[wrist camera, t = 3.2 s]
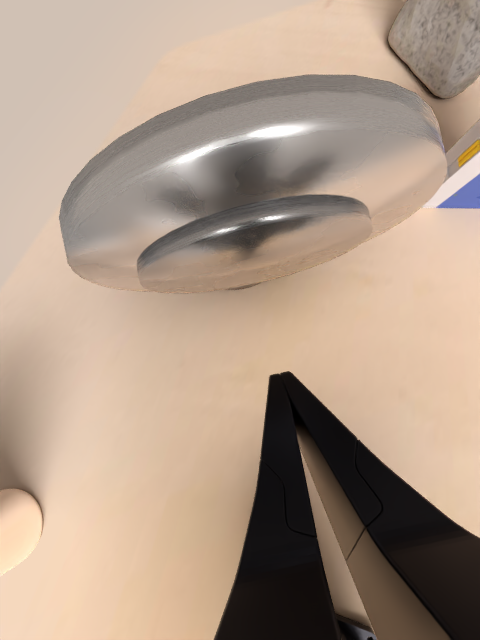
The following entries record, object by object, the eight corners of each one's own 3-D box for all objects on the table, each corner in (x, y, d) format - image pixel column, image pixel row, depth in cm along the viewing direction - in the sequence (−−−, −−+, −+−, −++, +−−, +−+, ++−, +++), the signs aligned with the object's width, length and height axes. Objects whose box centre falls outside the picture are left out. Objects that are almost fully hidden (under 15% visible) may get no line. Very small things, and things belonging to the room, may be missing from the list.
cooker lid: (333, 249, 18) (337, 270, 18) (152, 286, 18) (156, 307, 18) (653, 1, 4) (674, 93, 4) (-147, 164, 4) (-129, 258, 4)
